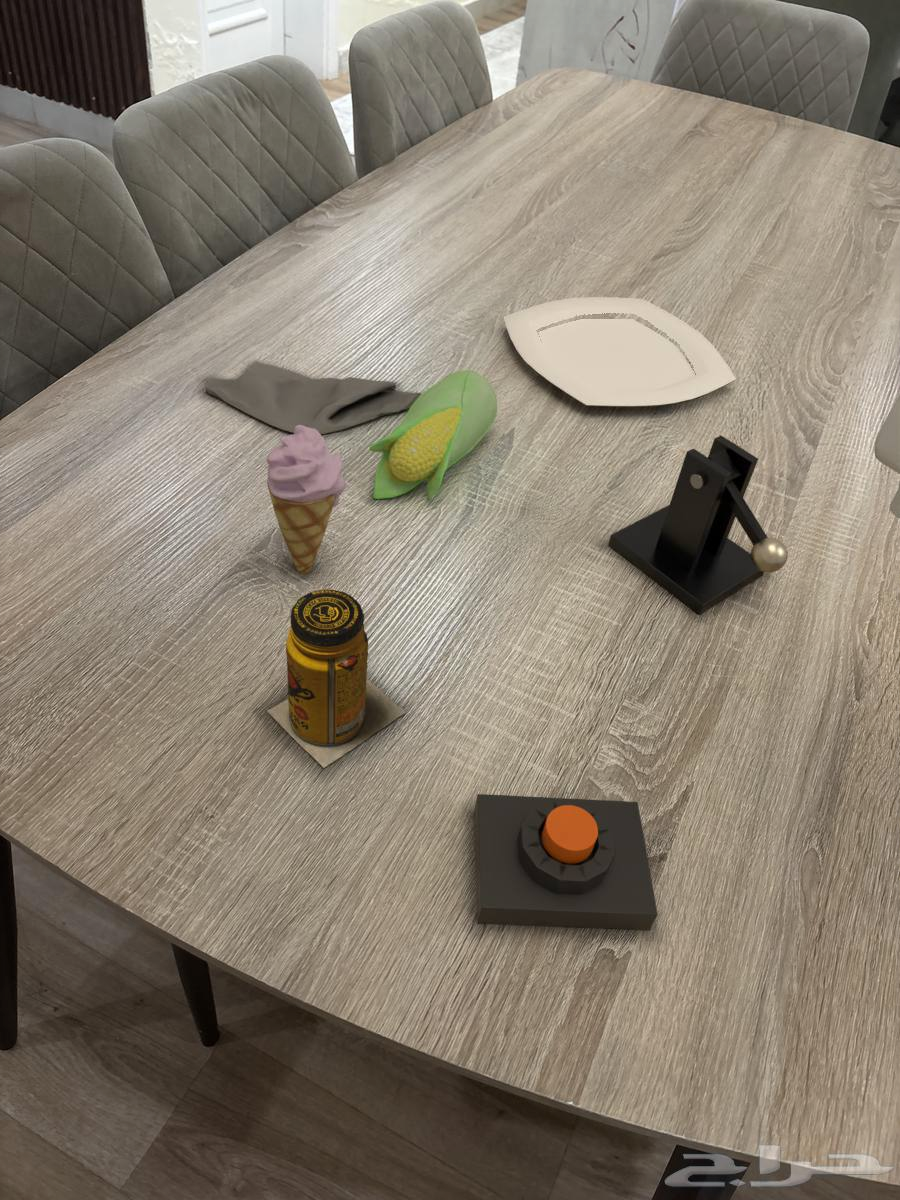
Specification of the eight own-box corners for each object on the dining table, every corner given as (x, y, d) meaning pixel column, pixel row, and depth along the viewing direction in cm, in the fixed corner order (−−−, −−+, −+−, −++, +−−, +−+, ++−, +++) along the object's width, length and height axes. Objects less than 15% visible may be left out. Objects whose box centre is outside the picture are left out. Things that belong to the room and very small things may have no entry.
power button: (589, 819, 67) (594, 805, 65) (596, 865, 64) (601, 851, 63) (539, 817, 66) (543, 803, 65) (543, 863, 64) (548, 849, 62)
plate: (576, 433, 109) (579, 419, 107) (476, 322, 126) (478, 309, 124) (759, 399, 118) (764, 385, 117) (644, 300, 135) (647, 288, 134)
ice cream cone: (334, 543, 91) (337, 410, 80) (350, 586, 87) (355, 451, 76) (265, 552, 89) (258, 417, 78) (278, 597, 85) (273, 460, 74)
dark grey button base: (631, 818, 71) (643, 787, 68) (649, 930, 65) (664, 901, 62) (473, 810, 70) (480, 779, 68) (477, 923, 64) (484, 894, 61)
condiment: (266, 712, 75) (259, 605, 67) (348, 662, 80) (351, 557, 72) (323, 770, 72) (324, 664, 63) (405, 714, 76) (416, 609, 68)
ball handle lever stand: (763, 575, 93) (809, 471, 85) (699, 615, 88) (741, 508, 79) (672, 511, 100) (706, 408, 91) (607, 545, 94) (637, 439, 86)
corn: (528, 397, 104) (444, 491, 91) (484, 433, 110) (399, 526, 97) (478, 340, 102) (386, 428, 89) (436, 379, 108) (344, 467, 95)
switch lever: (776, 569, 87) (801, 557, 85) (755, 582, 86) (780, 570, 83) (708, 460, 89) (731, 444, 86) (687, 471, 87) (709, 455, 84)
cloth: (183, 417, 103) (181, 400, 102) (224, 356, 113) (223, 339, 112) (416, 457, 102) (417, 439, 101) (436, 391, 112) (438, 375, 111)
